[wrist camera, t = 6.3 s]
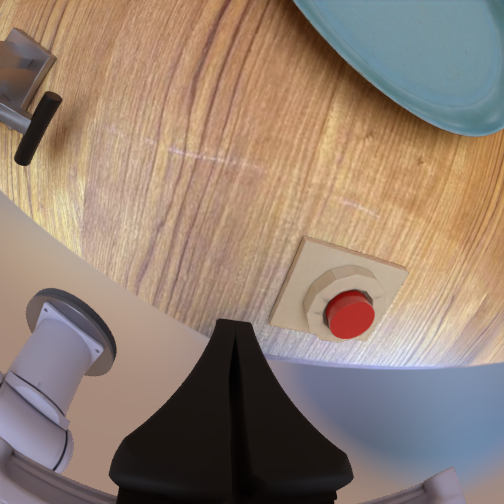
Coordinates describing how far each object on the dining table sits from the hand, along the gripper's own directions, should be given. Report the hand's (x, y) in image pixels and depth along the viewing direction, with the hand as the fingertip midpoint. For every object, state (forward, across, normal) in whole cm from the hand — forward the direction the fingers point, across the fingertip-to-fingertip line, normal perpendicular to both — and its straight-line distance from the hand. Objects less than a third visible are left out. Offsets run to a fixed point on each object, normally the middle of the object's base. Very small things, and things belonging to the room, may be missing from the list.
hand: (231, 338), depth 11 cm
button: (+8, -9, +3) cm, 12 cm away
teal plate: (+10, -10, -24) cm, 27 cm away
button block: (+10, -9, +3) cm, 14 cm away
